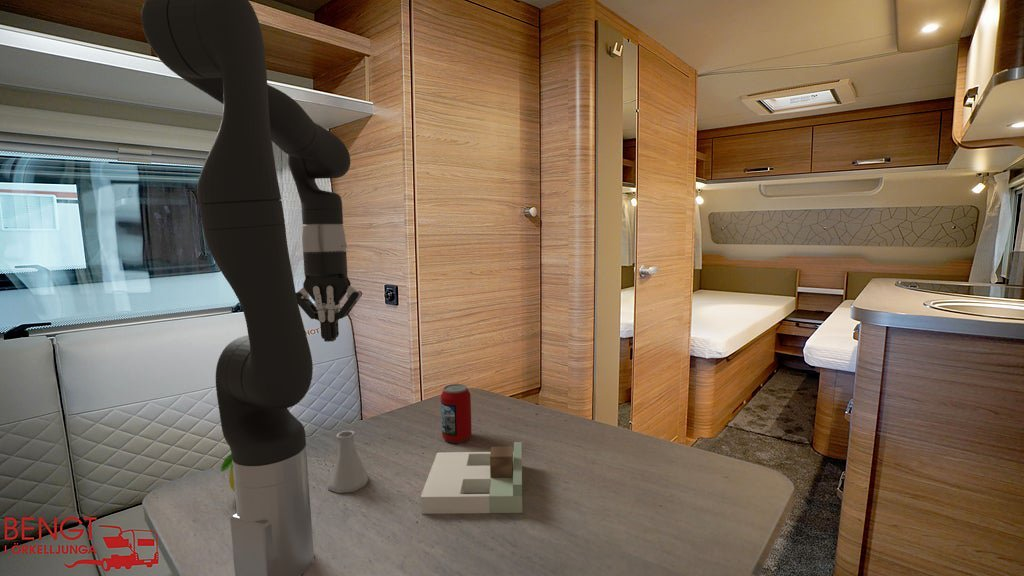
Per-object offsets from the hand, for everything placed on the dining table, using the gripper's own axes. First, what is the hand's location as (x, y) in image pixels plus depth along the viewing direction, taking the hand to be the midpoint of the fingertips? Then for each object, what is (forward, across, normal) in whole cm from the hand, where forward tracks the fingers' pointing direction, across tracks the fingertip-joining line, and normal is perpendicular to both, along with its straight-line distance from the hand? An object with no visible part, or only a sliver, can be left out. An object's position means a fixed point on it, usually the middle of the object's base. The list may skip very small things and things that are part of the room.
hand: (330, 340), depth 92 cm
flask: (+27, +3, -3) cm, 28 cm away
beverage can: (+27, +21, +17) cm, 38 cm away
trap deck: (+27, +27, -5) cm, 38 cm away
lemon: (+27, -14, -7) cm, 31 cm away
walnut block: (+24, +32, -5) cm, 41 cm away
